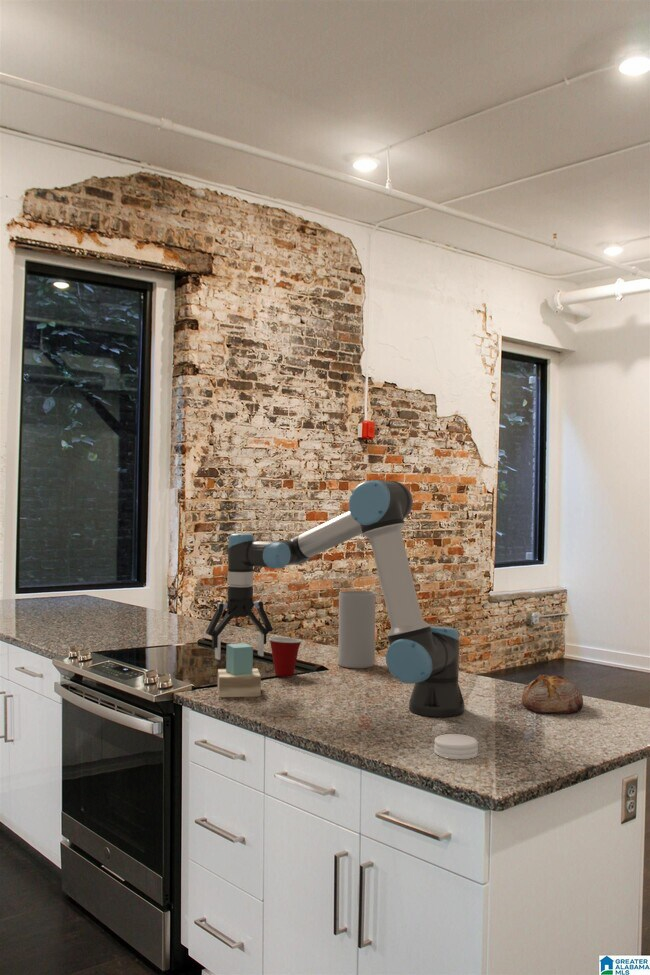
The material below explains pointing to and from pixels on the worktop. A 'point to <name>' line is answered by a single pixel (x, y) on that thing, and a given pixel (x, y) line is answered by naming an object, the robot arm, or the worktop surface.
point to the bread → (552, 695)
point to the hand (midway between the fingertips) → (239, 657)
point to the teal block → (239, 659)
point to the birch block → (239, 684)
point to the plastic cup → (284, 655)
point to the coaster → (456, 746)
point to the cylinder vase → (356, 629)
